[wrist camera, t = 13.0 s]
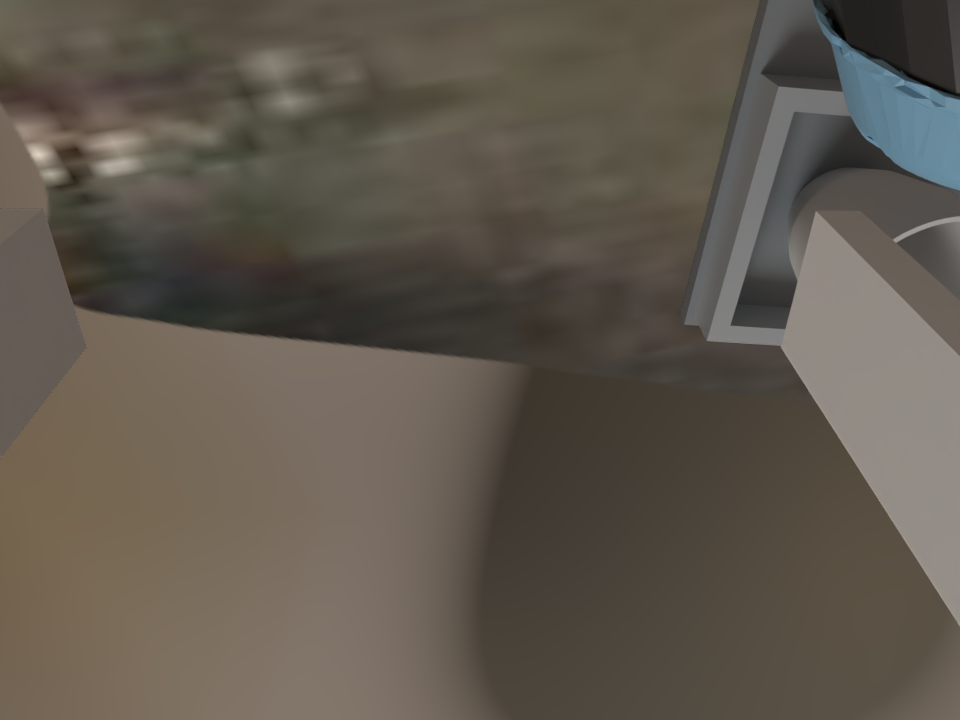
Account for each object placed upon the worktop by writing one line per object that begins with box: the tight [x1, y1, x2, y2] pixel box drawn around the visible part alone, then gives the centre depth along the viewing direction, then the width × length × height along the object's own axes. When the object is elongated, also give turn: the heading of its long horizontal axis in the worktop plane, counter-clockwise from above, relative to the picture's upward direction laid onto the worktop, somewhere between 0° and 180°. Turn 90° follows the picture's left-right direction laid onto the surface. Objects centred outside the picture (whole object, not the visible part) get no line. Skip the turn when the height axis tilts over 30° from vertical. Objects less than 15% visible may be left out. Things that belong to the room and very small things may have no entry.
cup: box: [787, 167, 960, 300], centre depth 36 cm, size 8×8×10 cm
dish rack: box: [680, 0, 960, 346], centre depth 37 cm, size 20×14×6 cm
